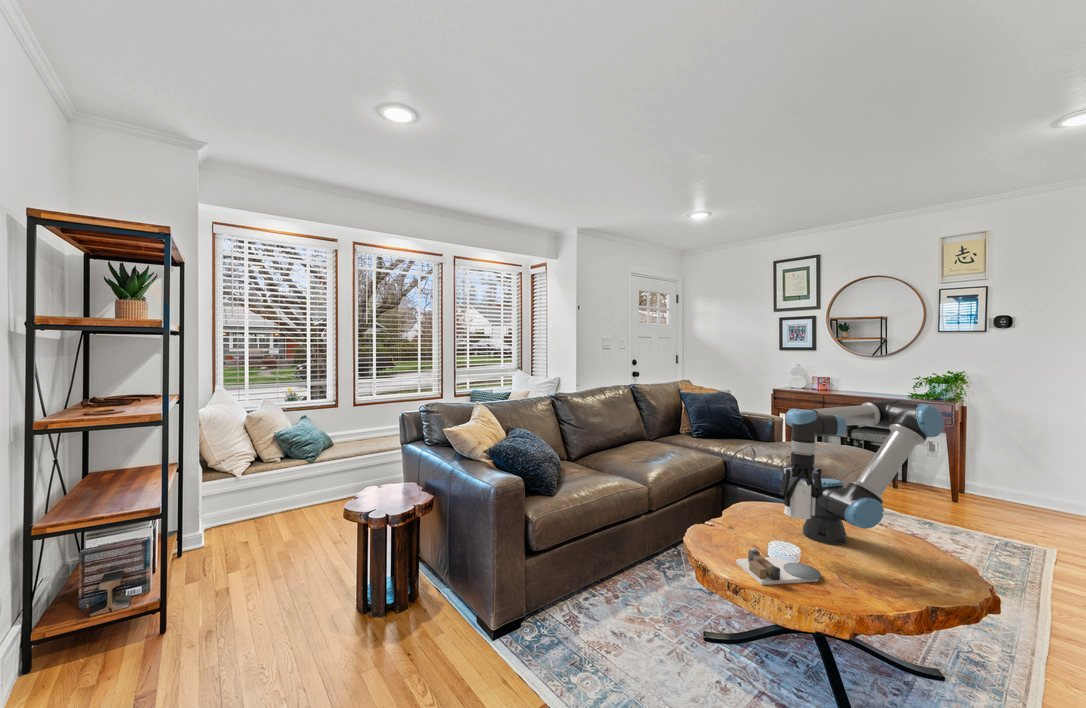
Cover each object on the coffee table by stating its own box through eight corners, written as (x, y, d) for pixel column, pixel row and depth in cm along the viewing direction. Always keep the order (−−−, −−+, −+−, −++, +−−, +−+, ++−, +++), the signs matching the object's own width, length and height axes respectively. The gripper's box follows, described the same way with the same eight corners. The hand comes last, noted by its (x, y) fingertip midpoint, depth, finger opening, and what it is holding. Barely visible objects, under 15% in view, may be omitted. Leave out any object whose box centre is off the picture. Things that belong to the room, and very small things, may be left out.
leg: (782, 579, 149) (783, 569, 149) (772, 580, 148) (772, 570, 148) (755, 558, 163) (755, 549, 163) (746, 559, 162) (746, 549, 162)
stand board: (795, 559, 167) (796, 541, 167) (828, 582, 151) (829, 563, 151) (736, 562, 164) (736, 545, 164) (763, 586, 148) (763, 567, 148)
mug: (817, 524, 162) (818, 490, 161) (790, 521, 164) (791, 487, 163) (806, 512, 173) (807, 480, 173) (781, 509, 175) (782, 478, 175)
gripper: (821, 450, 173) (819, 510, 173) (769, 450, 170) (767, 511, 171) (836, 455, 165) (834, 518, 166) (782, 455, 163) (779, 519, 164)
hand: (800, 514), depth 169 cm, fingers closed on mug, 8 cm apart
